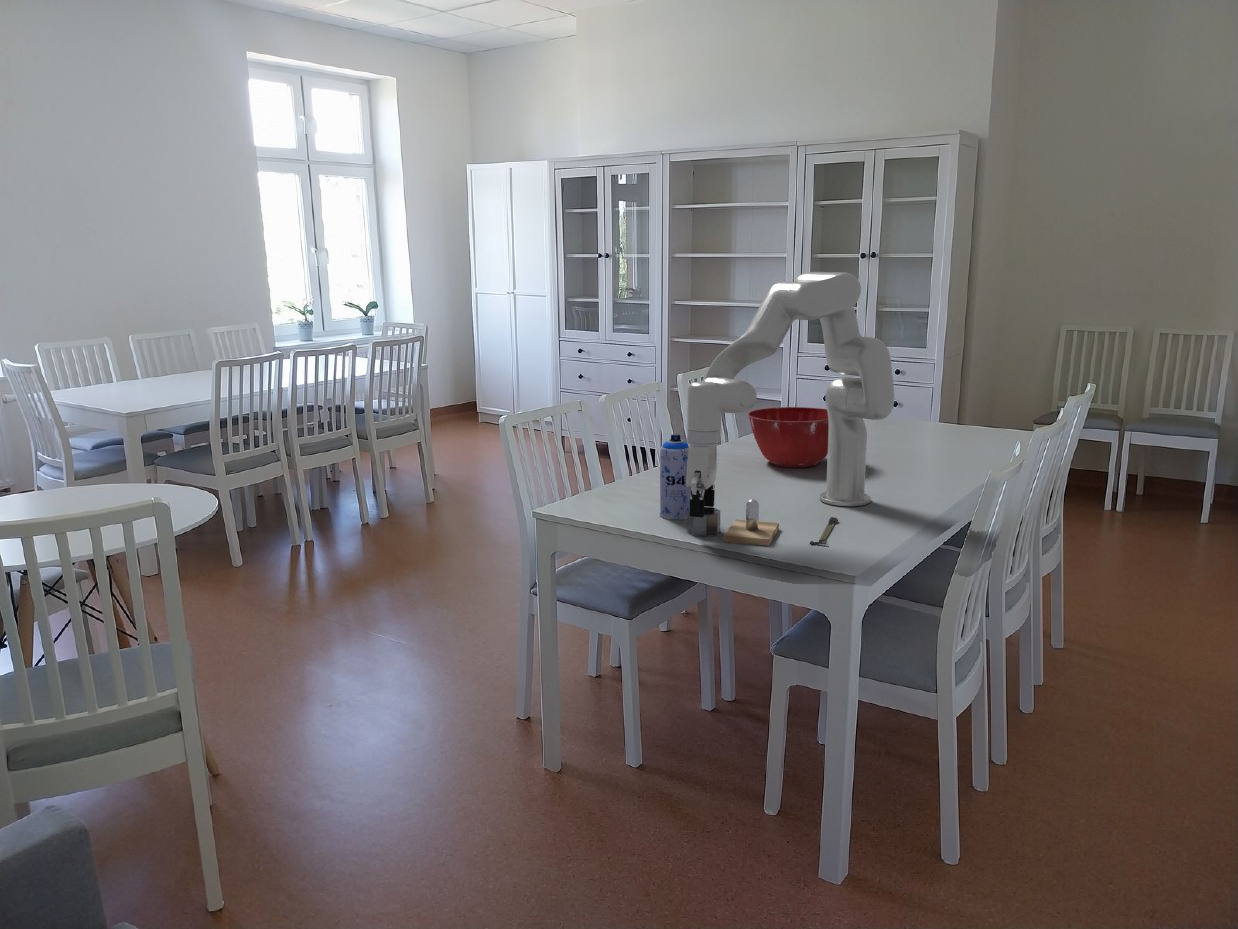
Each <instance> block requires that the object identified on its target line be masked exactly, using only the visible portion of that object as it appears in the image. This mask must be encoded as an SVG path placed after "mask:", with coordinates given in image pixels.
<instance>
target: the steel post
mask: <svg viewBox="0 0 1238 929" xmlns="http://www.w3.org/2000/svg"><path fill="white" fill-rule="evenodd" d="M759 506H760V505H759V502H758V501H757V499H754V498H751V499H749V500H747V501H746V504H745V520H746V530H749V531H756V530H758V521H759V519H760V517H759V512H760V511H759V510H760V509H759V508H760V507H759Z"/></svg>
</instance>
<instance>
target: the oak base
mask: <svg viewBox="0 0 1238 929" xmlns="http://www.w3.org/2000/svg"><path fill="white" fill-rule="evenodd" d="M779 527H780V523H779V522H772V521H771V522H769V521H759V520H758V530H756V531H749V530H746V519H735V520H734V522H733V523H732V524H731V525H730V526H729V528H728V529H727V531H726V532H725V533H724V535H723V542H724V543H732V544H744V545H745V544H746V545H754V544H757V546H765V545H766V546H767V547H769V546H770V545H771V544H772V542H773V540H774V537H775V536H776V534H777V533H778V532H779V529H780V528H779ZM766 546H765V547H766Z"/></svg>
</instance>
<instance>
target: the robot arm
mask: <svg viewBox="0 0 1238 929" xmlns="http://www.w3.org/2000/svg"><path fill="white" fill-rule="evenodd" d="M861 292H862V287H861V283H860V280H859V279H858V278H857V277H856V275H854V274H852V273H849V272H841V271H837V272H836V271H835V272H833V271H832V272H831V271H828V272H827V271H810V272H804V273H802V274H800V275H798V276H797V277H796V279H795V280H794V281H781V282H776V283H775V284H773V285H772V286H771V287H770V289H768V291H767V293H766V294H765V296H764V298H763V300H762V301H761V304H760V305H759V306H758V309H757V310H756V312H755V314H754V316H753V317H752V320H751V321H750V322H749V324H748V326H747V328H746V330H745V332H744V333H743V334H742V335H741V336H740V337H738V338H737V339H736V340H734V341H733V342H732V343H730V344H729V345H728V346H727V347H726V348H724V349H723V350H722V351H721V352H720V353H719V354H718V355H716V357H715V359H714V360H712V362H711V364H710V366H709V368H708V370H707V371H706V373H705V374H704V377H703V378H702V380H701V381H694V382H691V383H690V384H689V385H688V388H687V421H686V422H687V424H686V425H687V426H686V427H687V428H686V429H687V430H686V443H687V444H688V445H689V453H688V463H687V479H686V487H687V488H688V489H690V488H691V492H690V493H691V494H690V516H691V517H704V507H713V508H714V507H715V492H716V490H715V482H716V479H717V468H718V462H717V460H718V458H717V456H718V455H717V454H718V453H717V446H720V445H721V444H722V443H721V442H722V441H721V440H722V414H735V415H737V414H739V415H740V414H745V413H747V412H750V410H752V408H753V407H754V406H755V405H756V402H757V391H756V389H755V387H754V386H753V384H750V383H749V382H747V381H745V380H741V379H735V377H736V376H737V375H738V374H739V373H740V372H741V371H742V370H743V369H744V368H746V367H748V366H749V365H751V364H754V363H756V362H759V361H761V360H765V359H766V358H769V357H771V356H773V355H775V354H776V353H777V352H778V351H779V349H780V346H781V344H782V343H783V342H784V339H785V337H786V335H787V333H788V332H789V331H790V329H791V327H792V325H793V324H794V322H795V320H796V321H797V320H800V321H815V320H818V319H819V321H820V324H821V331H822V336H823V337H822V338H823V343H824V345H823V346H824V351H825V356H826V357H825V358H826V363H827V367H828V368H829V369H830V370H831V372H833V373H836V374H840V375H845V376H843V377H842V376H841V377H837V378H836V379H834V380H832V381H831V382H830V383H829V384H828V386H827V388H826V391H825V408H826V409H827V413H828V454H827V456H826V457H827V462H826V465H827V466H826V485H825V486H826V490H825V491H824V492H822V493H820V495H819V500H820V502H823V503H824V504H827V505H831V506H838V507H839V506H840V507H859V506H860V507H861V506H865V505H867V504H868V505H869V503H870V502H871V496H870V495H869V494H867V493H865V486H866V468H867V467H866V466H867V464H866V463H867V443H868V431H867V426H866V423H865V420H864V419H866V420H871V421H880V420H881V421H882V420H884V419H886V418H887V417H889V416H890V414H891V413H892V410H893V408H894V404H895V387H894V377H893V370H892V369H893V368H892V367H893V366H892V361H891V353H890V351H889V348H888V346H887V345H886V344H885V343H884V342H883V340H881V339H879V338H876V337H871V336H862V335H861V333H860V329H859V322H858V317H857V313H856V310H855V308H854V306H855V305H856V304H857V303H858V302H859V299H860V297H861ZM851 376H852V377H851ZM853 376H855V377H853Z"/></svg>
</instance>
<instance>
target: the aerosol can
mask: <svg viewBox="0 0 1238 929" xmlns="http://www.w3.org/2000/svg"><path fill="white" fill-rule="evenodd" d="M689 446H690V445H688V444H687V441H684V440H683V439H681V434H670V439H668V440H667V441H665V442H663V444H662V445H661V446H660V449H659V495H660V496H659V499H660V500H659V501H660V502H659V507H660V508H659V517H660V518H662V517H664V518H663V519H666V518H668V519H667V520H675V519H676V520H685V519H684V518H686V519H687V511H688V510H689V509H690V494H691V493H690V492H691V488H690V489H688V488H687V487H686V479H687V463H688V453H689Z"/></svg>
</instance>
